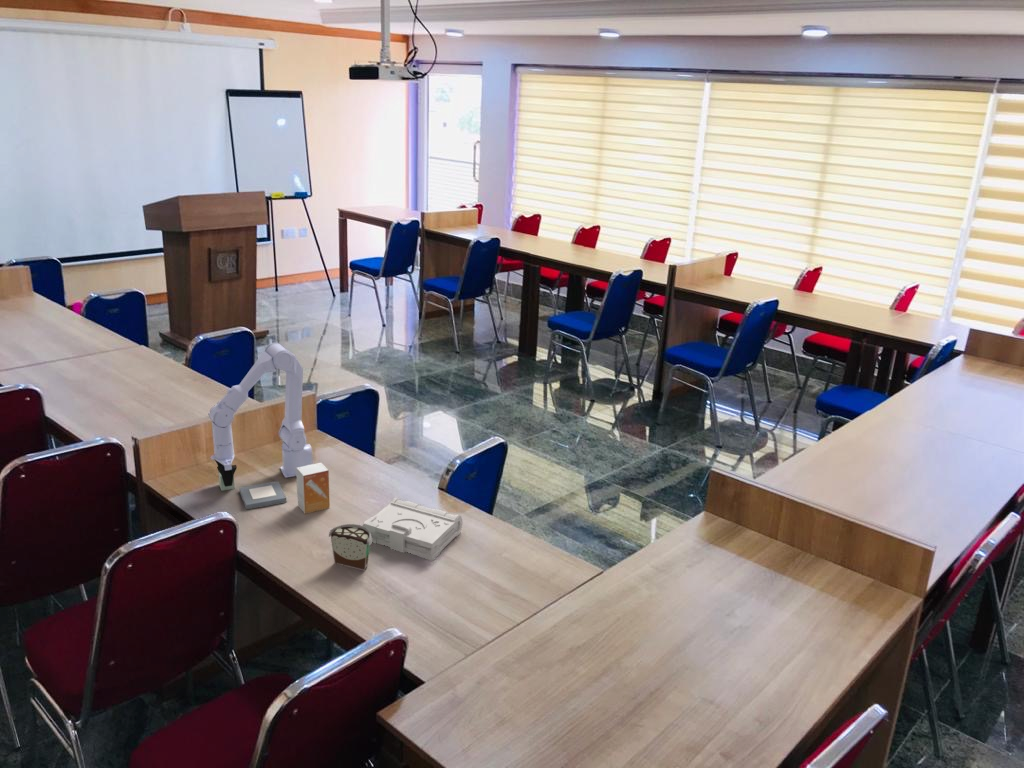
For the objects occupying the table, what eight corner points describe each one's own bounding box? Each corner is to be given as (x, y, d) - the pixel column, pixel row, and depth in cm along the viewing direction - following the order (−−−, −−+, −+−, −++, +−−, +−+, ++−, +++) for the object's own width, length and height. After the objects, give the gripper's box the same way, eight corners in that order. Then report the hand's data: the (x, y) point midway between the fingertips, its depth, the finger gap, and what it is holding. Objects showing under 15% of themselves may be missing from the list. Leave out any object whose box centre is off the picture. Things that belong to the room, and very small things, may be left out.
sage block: (232, 483, 269) (231, 469, 267) (234, 488, 266) (233, 474, 264) (219, 485, 267) (218, 471, 266) (221, 490, 264) (220, 476, 262)
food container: (380, 560, 231) (380, 528, 227) (370, 571, 225) (369, 539, 222) (341, 550, 234) (340, 519, 231) (329, 562, 229) (328, 530, 225)
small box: (304, 514, 252) (302, 475, 248) (297, 505, 257) (295, 467, 253) (330, 508, 257) (328, 469, 252) (322, 499, 261) (321, 461, 257)
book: (384, 509, 258) (383, 487, 255) (464, 532, 247) (465, 509, 244) (347, 539, 242) (346, 516, 239) (431, 565, 231) (431, 541, 228)
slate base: (278, 485, 269) (278, 480, 268) (286, 502, 259) (286, 497, 258) (239, 491, 264) (239, 487, 263) (246, 509, 254) (246, 504, 253)
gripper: (206, 435, 265) (210, 473, 270) (213, 453, 253) (216, 493, 258) (229, 431, 268) (232, 470, 273) (237, 450, 256) (240, 489, 261)
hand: (226, 481), depth 266 cm, fingers open, 6 cm apart
